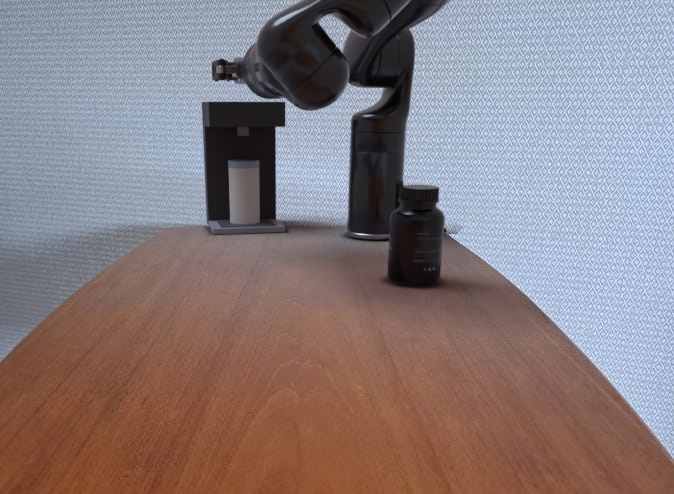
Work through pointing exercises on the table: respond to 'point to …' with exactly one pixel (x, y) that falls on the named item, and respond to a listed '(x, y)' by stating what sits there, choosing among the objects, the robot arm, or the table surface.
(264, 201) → the coffee maker
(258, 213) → the container
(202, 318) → the table surface
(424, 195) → the supplement bottle
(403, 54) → the robot arm
